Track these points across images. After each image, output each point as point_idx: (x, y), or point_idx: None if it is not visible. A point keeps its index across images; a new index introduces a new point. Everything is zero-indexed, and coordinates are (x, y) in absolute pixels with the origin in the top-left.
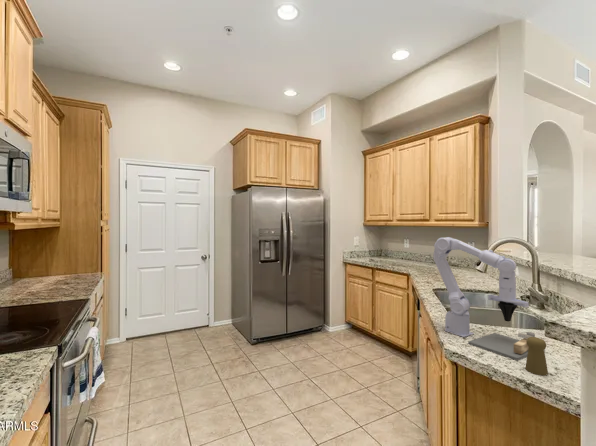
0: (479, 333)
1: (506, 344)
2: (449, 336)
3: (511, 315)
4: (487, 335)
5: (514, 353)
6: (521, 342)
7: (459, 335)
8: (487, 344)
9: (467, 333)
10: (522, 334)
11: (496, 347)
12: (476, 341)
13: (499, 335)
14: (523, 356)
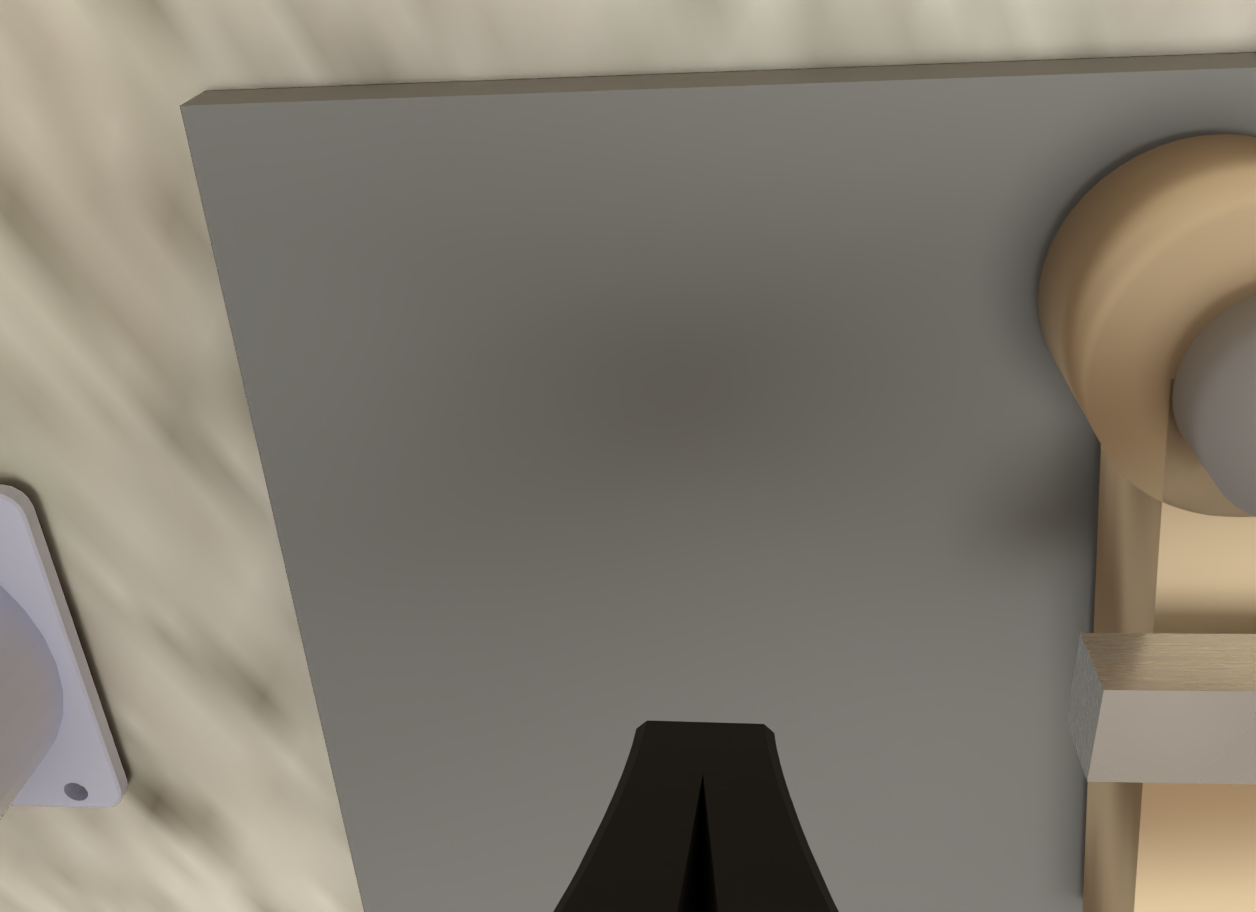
0: (3, 317)
1: (804, 633)
2: (16, 905)
3: (809, 901)
4: (272, 462)
5: None
6: (1208, 883)
7: (45, 797)
8: None
9: (49, 698)
10: (1195, 767)
11: None
12: (436, 899)
13: (380, 211)
14: None
